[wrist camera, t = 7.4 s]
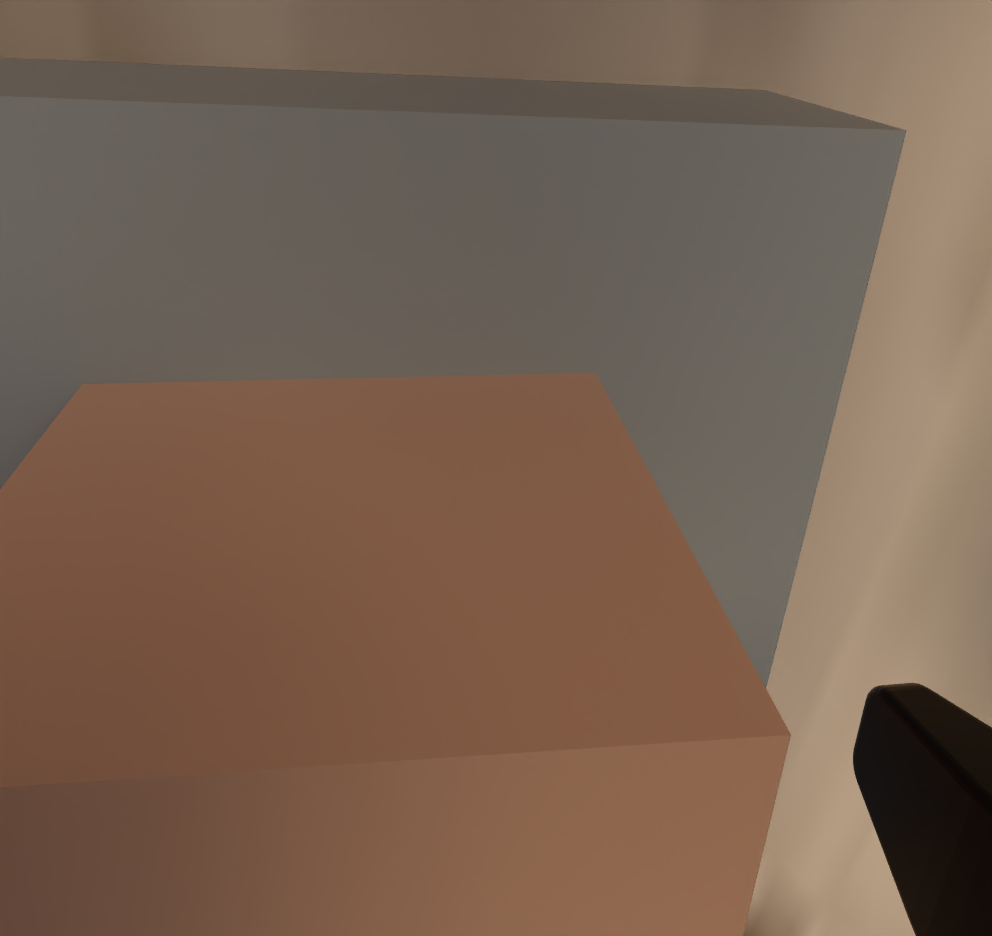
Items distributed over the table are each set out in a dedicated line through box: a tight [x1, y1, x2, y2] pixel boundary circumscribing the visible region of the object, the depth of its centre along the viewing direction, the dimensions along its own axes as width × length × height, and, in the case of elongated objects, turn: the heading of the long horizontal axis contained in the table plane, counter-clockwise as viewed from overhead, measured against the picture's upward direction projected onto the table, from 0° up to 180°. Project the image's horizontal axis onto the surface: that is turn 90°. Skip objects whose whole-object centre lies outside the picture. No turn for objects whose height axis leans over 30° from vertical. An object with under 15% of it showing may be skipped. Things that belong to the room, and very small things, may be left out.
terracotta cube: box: [0, 373, 791, 936], centre depth 8 cm, size 5×5×5 cm
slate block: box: [0, 58, 906, 688], centre depth 12 cm, size 10×10×4 cm
